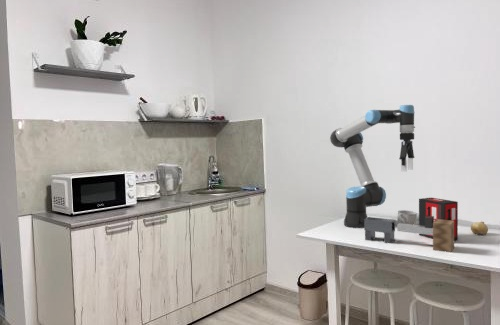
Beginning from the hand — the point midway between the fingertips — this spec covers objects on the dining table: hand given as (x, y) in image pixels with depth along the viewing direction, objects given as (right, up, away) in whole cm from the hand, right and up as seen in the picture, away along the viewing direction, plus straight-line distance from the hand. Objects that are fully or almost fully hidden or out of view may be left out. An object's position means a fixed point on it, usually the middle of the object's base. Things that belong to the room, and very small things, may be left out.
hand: (407, 170), depth 212 cm
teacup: (+6, -34, +17) cm, 38 cm away
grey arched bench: (-21, -36, -15) cm, 45 cm away
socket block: (+3, -37, -34) cm, 50 cm away
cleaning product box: (+10, -36, -14) cm, 40 cm away
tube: (-5, -30, -28) cm, 41 cm away
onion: (+35, -35, -9) cm, 50 cm away
